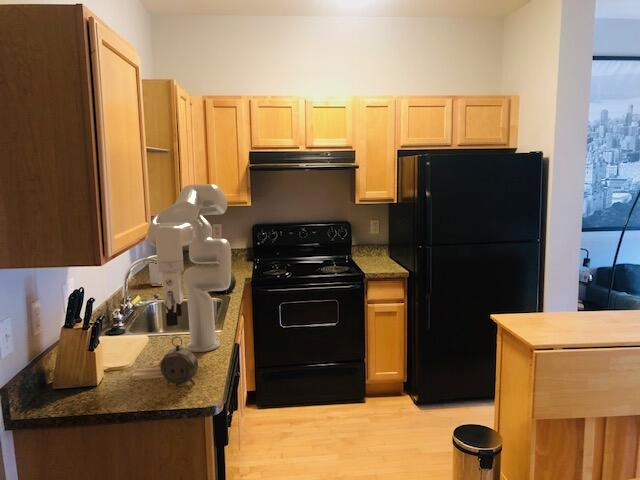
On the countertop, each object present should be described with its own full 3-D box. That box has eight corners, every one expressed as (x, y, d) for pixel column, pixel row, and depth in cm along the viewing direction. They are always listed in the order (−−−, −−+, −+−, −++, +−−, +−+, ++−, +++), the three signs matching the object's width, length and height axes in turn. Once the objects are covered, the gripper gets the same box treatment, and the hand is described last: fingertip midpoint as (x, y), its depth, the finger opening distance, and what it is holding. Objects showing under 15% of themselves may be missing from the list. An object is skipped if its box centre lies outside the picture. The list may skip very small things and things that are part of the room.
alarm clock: (199, 382, 149) (196, 334, 146) (193, 390, 143) (189, 340, 141) (167, 381, 150) (163, 333, 148) (159, 389, 145) (155, 339, 142)
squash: (224, 287, 250) (231, 263, 258) (200, 286, 256) (208, 263, 263) (235, 299, 261) (242, 275, 269) (213, 298, 267) (220, 275, 274)
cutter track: (135, 373, 157) (134, 361, 156) (186, 368, 160) (185, 356, 159) (132, 380, 152) (131, 367, 151) (184, 374, 155) (183, 362, 154)
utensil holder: (161, 280, 295) (159, 253, 292) (180, 282, 289) (178, 254, 286) (144, 286, 281) (142, 257, 279) (163, 288, 276) (161, 259, 273)
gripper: (180, 270, 133) (184, 328, 135) (186, 260, 150) (189, 312, 152) (152, 272, 132) (157, 330, 134) (162, 262, 149) (166, 313, 151)
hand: (174, 320), depth 143 cm, fingers open, 9 cm apart
